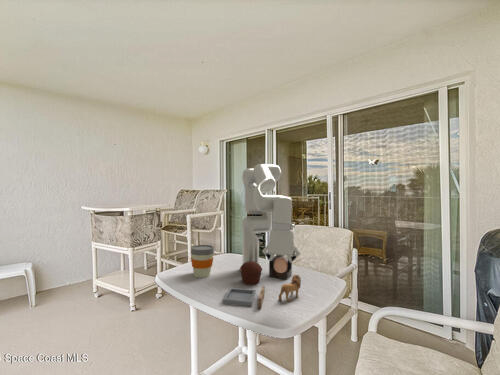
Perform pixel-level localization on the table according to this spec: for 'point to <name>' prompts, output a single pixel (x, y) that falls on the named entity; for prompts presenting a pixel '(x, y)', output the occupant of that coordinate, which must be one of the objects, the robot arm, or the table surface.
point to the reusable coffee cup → (202, 260)
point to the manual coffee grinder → (277, 274)
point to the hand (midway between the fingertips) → (280, 270)
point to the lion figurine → (290, 287)
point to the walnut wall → (261, 297)
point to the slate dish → (239, 297)
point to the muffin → (251, 273)
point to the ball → (280, 265)
